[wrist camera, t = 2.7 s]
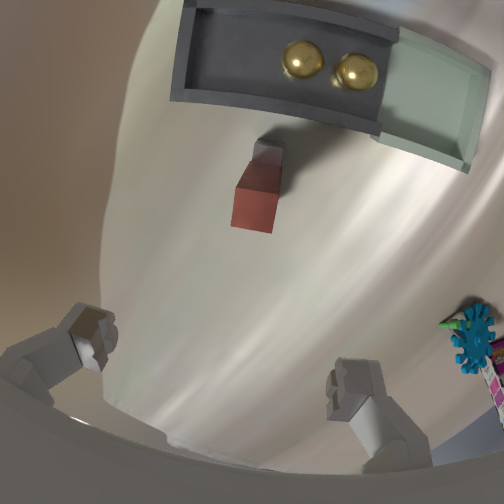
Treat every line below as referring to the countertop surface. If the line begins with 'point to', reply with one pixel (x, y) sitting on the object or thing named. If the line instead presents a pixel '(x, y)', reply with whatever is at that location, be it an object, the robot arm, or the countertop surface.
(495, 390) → the candy bar box
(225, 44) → the tray
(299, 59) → the yellow-brown round piece
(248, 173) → the red-brown bar
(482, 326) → the gear
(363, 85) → the shiny gold ball
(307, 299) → the countertop surface
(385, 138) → the tray
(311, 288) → the countertop surface
